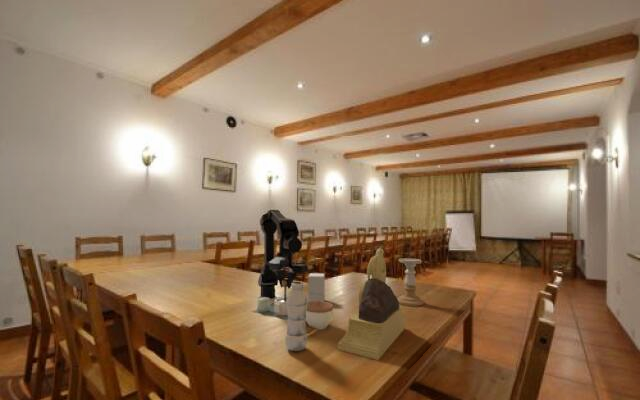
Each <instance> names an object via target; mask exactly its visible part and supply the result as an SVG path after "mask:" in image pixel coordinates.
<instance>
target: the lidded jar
mask: <svg viewBox="0 0 640 400" xmlns="http://www.w3.org/2000/svg"><path fill="white" fill-rule="evenodd" d="M333 313H334V304H332V303H331V302H328V301H325V300H324V301H320V300H317V301H312V302H308V305H307V312H306V323H307V325H308V326H309V327H311V328H312V329H313V328H314V329H315V330H318V331H319V330H321V331H322V330H325V329H326V328H327V327H328V326H329V325H330V323H331V322H332V320H333V315H334V314H333Z"/></svg>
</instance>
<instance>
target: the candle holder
mask: <svg viewBox="0 0 640 400" xmlns="http://www.w3.org/2000/svg"><path fill="white" fill-rule="evenodd" d="M398 262H399V263H402V264H404V266H405V267H406V269H405V270H404V273H405V276H404V277H405V278H404V281H403V283H404V286H403V289H404V290H405V291H404V294H403V295H400V296H399V297H397V299H398V302H399V305H403V306H408V307H420V306H423V305H425V304H424V303H425V301H424V300H423V299H422V298H421V297H420V296H418V295H416V291H417V289H418V288H417V287H416V284H417V281H416V278H415V274H416V273H417V271H415V267H416V265H417V264H422V260H421V259H418V258H413V257H412V258H409V257H405V258H398Z"/></svg>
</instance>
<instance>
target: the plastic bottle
mask: <svg viewBox="0 0 640 400" xmlns="http://www.w3.org/2000/svg"><path fill="white" fill-rule="evenodd" d="M304 284H305V283H304V282H303V281H298V280H297V281H293V282H292V283H291V287H290V289H291V290H290V291H291V292H290V293H289V294H288V295H287V296H286V297H287V310H288V320H287V327H286V330H287V331H286V335H285V340H284V341H285V347H286V349H287V350H289V351H290V352H301V351H304V350H305V349H306V347H307V345H308V334H307V326H306V325H307V324H306V323H307V322H306V312H307V305H308V295H307V294H306V292H305V291H304V289H305V286H304Z"/></svg>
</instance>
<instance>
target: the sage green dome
mask: <svg viewBox="0 0 640 400" xmlns="http://www.w3.org/2000/svg"><path fill="white" fill-rule="evenodd" d="M256 303H257V304H256V305H257V308H256V310H257V312H259V313H266V312H269V311H270V303H271V299H270V298H268V297H261V296H259V298H257V302H256ZM259 313H258V314H259Z"/></svg>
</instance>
